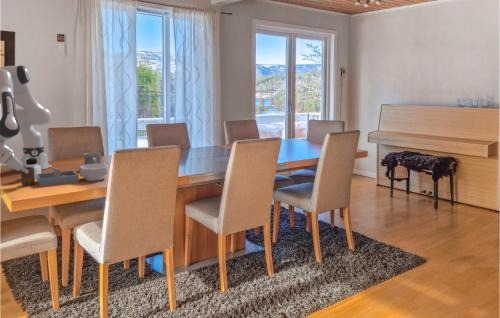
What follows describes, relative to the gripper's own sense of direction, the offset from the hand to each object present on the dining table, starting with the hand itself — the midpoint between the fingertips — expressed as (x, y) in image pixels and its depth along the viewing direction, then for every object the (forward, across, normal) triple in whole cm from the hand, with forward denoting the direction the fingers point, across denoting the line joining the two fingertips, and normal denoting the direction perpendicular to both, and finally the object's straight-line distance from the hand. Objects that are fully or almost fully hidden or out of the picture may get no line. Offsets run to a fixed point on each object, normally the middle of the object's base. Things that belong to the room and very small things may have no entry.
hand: (27, 171), depth 226 cm
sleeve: (+5, 0, -5) cm, 7 cm away
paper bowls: (+29, +4, +18) cm, 34 cm away
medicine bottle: (+8, -18, -3) cm, 20 cm away
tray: (+16, 0, +4) cm, 16 cm away
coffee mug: (+33, -26, +21) cm, 47 cm away
